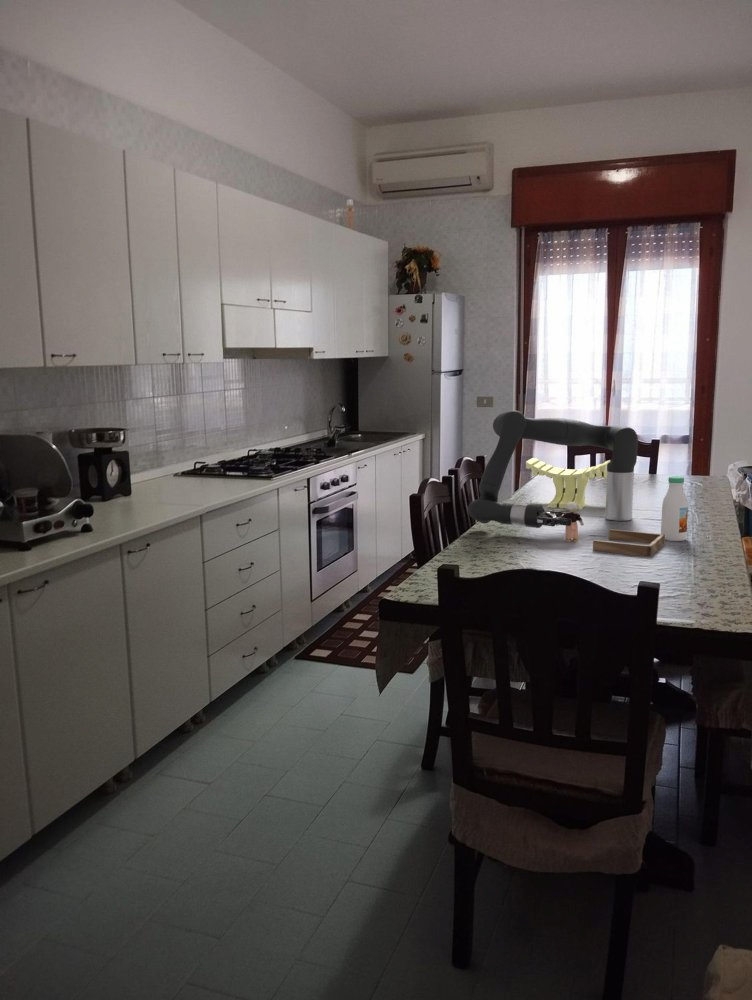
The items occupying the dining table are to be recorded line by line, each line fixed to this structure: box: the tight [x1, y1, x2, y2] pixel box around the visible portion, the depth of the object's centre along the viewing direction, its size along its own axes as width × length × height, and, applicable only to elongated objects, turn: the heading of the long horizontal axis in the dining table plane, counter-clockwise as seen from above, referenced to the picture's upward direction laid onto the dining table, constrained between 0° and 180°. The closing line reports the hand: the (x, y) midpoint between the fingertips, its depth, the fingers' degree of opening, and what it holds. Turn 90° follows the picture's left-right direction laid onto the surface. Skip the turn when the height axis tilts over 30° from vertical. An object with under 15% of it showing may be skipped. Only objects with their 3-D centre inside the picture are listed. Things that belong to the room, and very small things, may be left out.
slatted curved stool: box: [525, 457, 611, 510], centre depth 313 cm, size 30×16×18 cm, turn 66°
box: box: [592, 529, 666, 557], centre depth 244 cm, size 18×17×3 cm
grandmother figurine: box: [561, 502, 585, 543], centre depth 253 cm, size 8×4×13 cm, turn 92°
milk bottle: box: [660, 475, 689, 542], centre depth 252 cm, size 8×8×20 cm
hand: (575, 519), depth 252 cm, fingers open, 8 cm apart
